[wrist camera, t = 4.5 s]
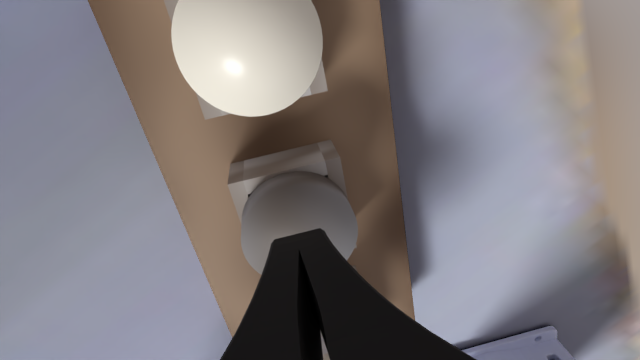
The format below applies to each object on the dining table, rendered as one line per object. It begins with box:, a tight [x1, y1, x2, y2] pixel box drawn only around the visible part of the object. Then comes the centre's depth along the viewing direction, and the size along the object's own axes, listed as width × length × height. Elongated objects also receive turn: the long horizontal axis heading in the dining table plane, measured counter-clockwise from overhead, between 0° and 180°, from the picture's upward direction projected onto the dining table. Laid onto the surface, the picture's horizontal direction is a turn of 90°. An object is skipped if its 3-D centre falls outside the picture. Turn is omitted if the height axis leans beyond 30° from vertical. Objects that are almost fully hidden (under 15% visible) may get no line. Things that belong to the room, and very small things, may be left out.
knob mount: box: [88, 0, 415, 338], centre depth 17 cm, size 10×20×5 cm, turn 10°
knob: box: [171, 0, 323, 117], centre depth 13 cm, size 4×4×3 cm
